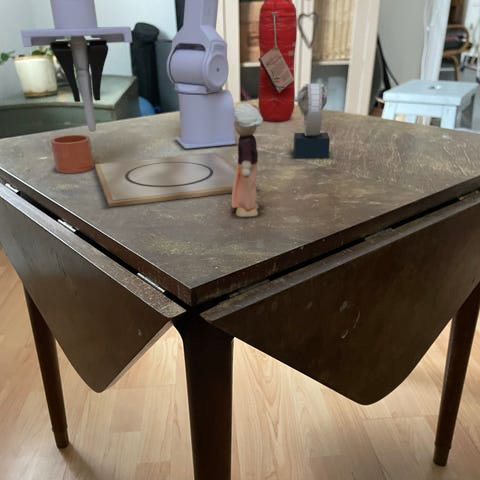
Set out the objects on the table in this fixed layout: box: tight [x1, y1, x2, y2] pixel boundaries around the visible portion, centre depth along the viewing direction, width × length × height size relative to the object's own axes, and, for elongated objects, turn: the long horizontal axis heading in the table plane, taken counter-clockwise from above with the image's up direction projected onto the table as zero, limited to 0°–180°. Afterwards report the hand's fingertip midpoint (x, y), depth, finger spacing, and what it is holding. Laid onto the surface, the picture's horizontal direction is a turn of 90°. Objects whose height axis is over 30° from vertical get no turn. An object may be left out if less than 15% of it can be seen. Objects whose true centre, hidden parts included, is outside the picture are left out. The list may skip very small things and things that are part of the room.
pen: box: [69, 36, 97, 133], centre depth 77 cm, size 2×3×14 cm
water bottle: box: [257, 0, 298, 123], centre depth 109 cm, size 12×8×25 cm, turn 168°
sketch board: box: [94, 152, 236, 208], centre depth 80 cm, size 20×20×1 cm
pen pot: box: [50, 134, 95, 174], centre depth 85 cm, size 6×6×4 cm
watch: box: [293, 83, 331, 159], centre depth 88 cm, size 6×8×11 cm
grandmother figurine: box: [230, 102, 264, 218], centre depth 64 cm, size 8×4×13 cm, turn 5°
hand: (87, 100), depth 79 cm, fingers closed on pen, 2 cm apart
